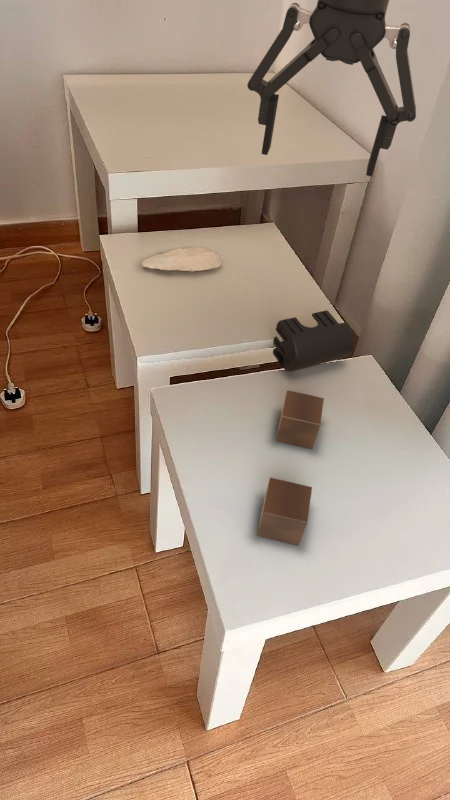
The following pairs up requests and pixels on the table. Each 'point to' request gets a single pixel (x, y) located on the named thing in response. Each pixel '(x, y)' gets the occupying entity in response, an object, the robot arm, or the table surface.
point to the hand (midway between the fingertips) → (317, 161)
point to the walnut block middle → (300, 419)
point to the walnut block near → (285, 511)
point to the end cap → (312, 342)
